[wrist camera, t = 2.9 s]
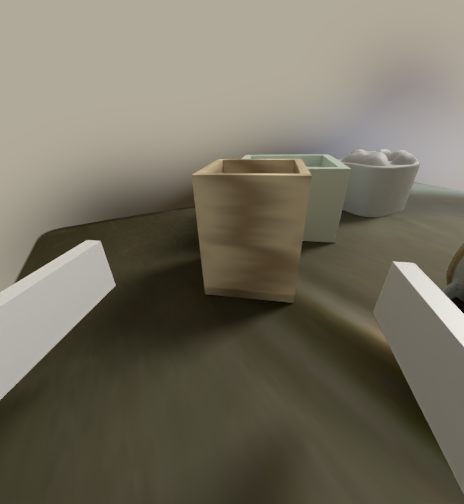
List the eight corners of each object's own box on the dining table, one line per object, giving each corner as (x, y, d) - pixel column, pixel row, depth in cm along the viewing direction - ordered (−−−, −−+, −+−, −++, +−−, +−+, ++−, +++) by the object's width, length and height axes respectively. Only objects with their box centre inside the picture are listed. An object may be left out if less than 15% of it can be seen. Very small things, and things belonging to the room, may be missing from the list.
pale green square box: (318, 208, 38) (328, 154, 34) (334, 242, 27) (351, 168, 23) (244, 206, 40) (244, 154, 36) (231, 237, 29) (229, 168, 25)
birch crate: (289, 255, 25) (301, 158, 20) (293, 302, 18) (312, 175, 13) (222, 251, 26) (217, 158, 21) (203, 293, 20) (189, 174, 15)
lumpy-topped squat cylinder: (317, 202, 41) (326, 151, 37) (363, 192, 46) (375, 146, 42) (372, 220, 33) (391, 157, 29) (420, 205, 38) (442, 149, 34)
